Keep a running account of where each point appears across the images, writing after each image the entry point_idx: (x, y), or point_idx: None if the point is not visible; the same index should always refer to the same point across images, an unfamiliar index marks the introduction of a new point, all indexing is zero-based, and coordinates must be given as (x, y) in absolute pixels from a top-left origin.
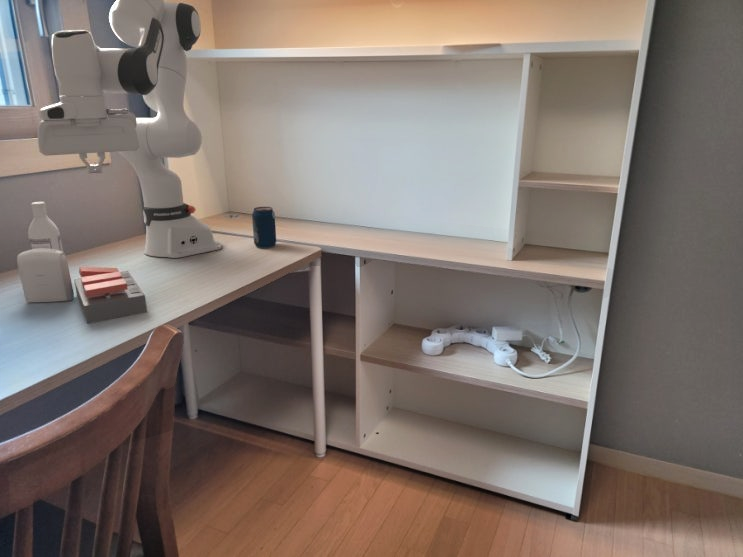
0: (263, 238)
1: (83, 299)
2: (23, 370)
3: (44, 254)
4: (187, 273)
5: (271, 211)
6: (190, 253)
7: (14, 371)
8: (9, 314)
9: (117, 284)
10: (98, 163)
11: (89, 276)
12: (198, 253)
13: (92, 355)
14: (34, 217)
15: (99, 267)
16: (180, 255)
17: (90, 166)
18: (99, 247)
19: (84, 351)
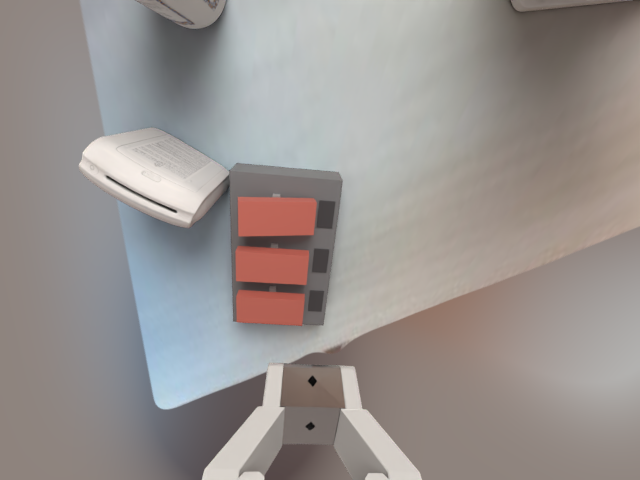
0: None
1: (235, 296)
2: (166, 380)
3: (150, 215)
4: (461, 163)
5: None
6: (564, 6)
7: (157, 378)
8: None
9: (287, 323)
10: (342, 446)
11: (251, 255)
12: (585, 4)
13: (234, 382)
14: None
15: (280, 202)
16: (533, 8)
17: (281, 440)
18: None
19: (227, 371)
